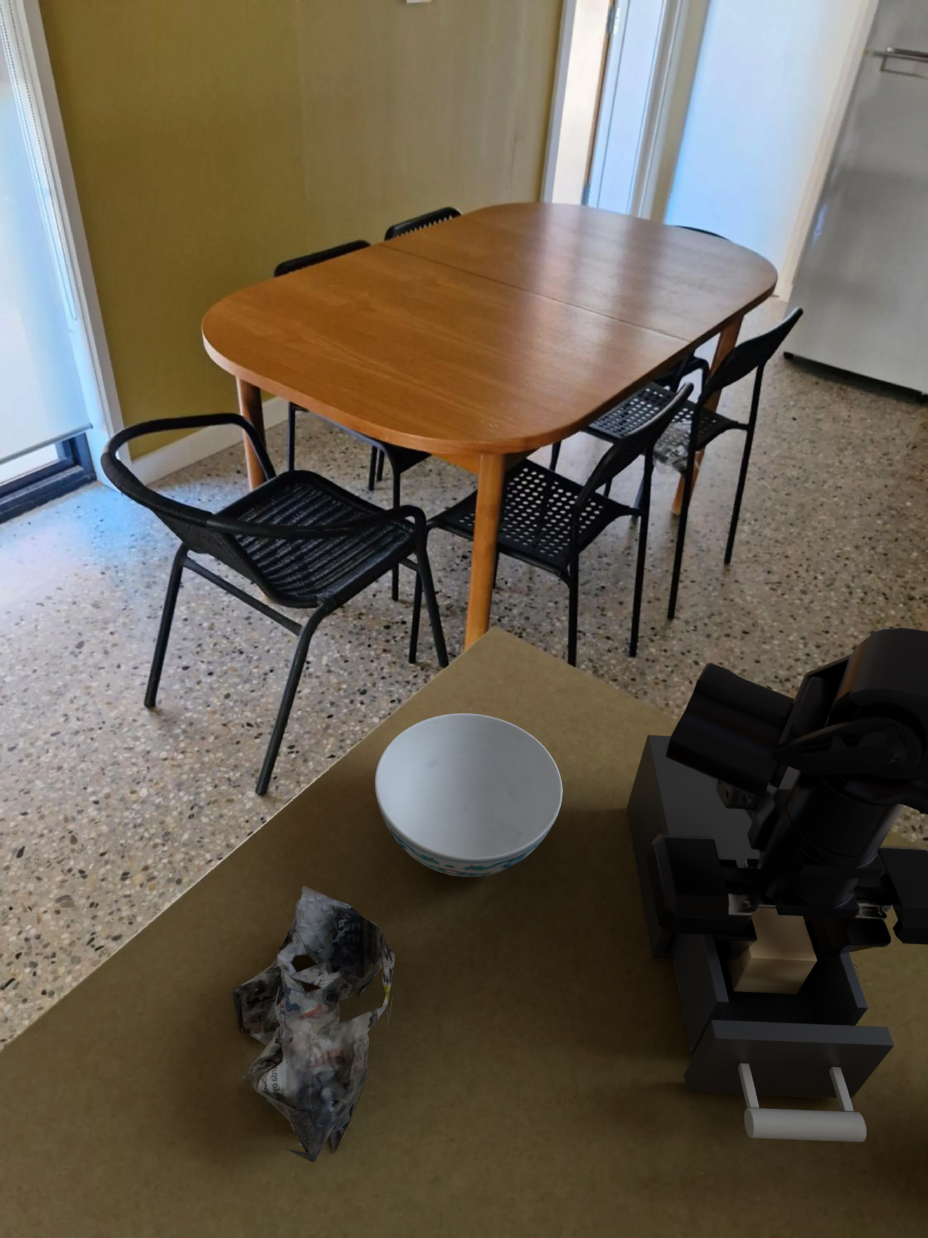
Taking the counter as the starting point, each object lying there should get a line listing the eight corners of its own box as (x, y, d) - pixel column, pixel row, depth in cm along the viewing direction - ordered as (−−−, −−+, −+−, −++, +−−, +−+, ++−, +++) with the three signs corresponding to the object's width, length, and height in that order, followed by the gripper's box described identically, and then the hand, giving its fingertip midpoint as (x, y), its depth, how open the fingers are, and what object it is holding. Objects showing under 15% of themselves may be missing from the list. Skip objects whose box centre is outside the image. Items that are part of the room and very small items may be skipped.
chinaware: (494, 952, 68) (504, 894, 63) (338, 858, 73) (336, 798, 69) (579, 821, 78) (593, 762, 73) (436, 748, 84) (440, 689, 79)
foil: (455, 946, 64) (360, 1046, 50) (403, 1071, 66) (297, 1200, 52) (324, 869, 68) (201, 941, 54) (278, 988, 70) (148, 1089, 56)
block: (779, 936, 65) (798, 901, 63) (796, 994, 62) (817, 960, 59) (719, 933, 65) (735, 898, 62) (733, 992, 62) (751, 957, 59)
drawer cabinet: (812, 966, 69) (855, 895, 63) (651, 959, 68) (679, 887, 62) (764, 815, 80) (797, 742, 74) (626, 808, 80) (647, 734, 74)
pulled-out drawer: (874, 1169, 57) (921, 1119, 52) (699, 1163, 57) (730, 1112, 52) (796, 921, 71) (828, 862, 66) (654, 914, 70) (676, 855, 65)
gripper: (933, 727, 60) (852, 866, 69) (658, 712, 59) (616, 854, 69) (1011, 868, 51) (906, 1003, 61) (690, 852, 50) (637, 992, 60)
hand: (761, 956), depth 63 cm, fingers closed on block, 4 cm apart
